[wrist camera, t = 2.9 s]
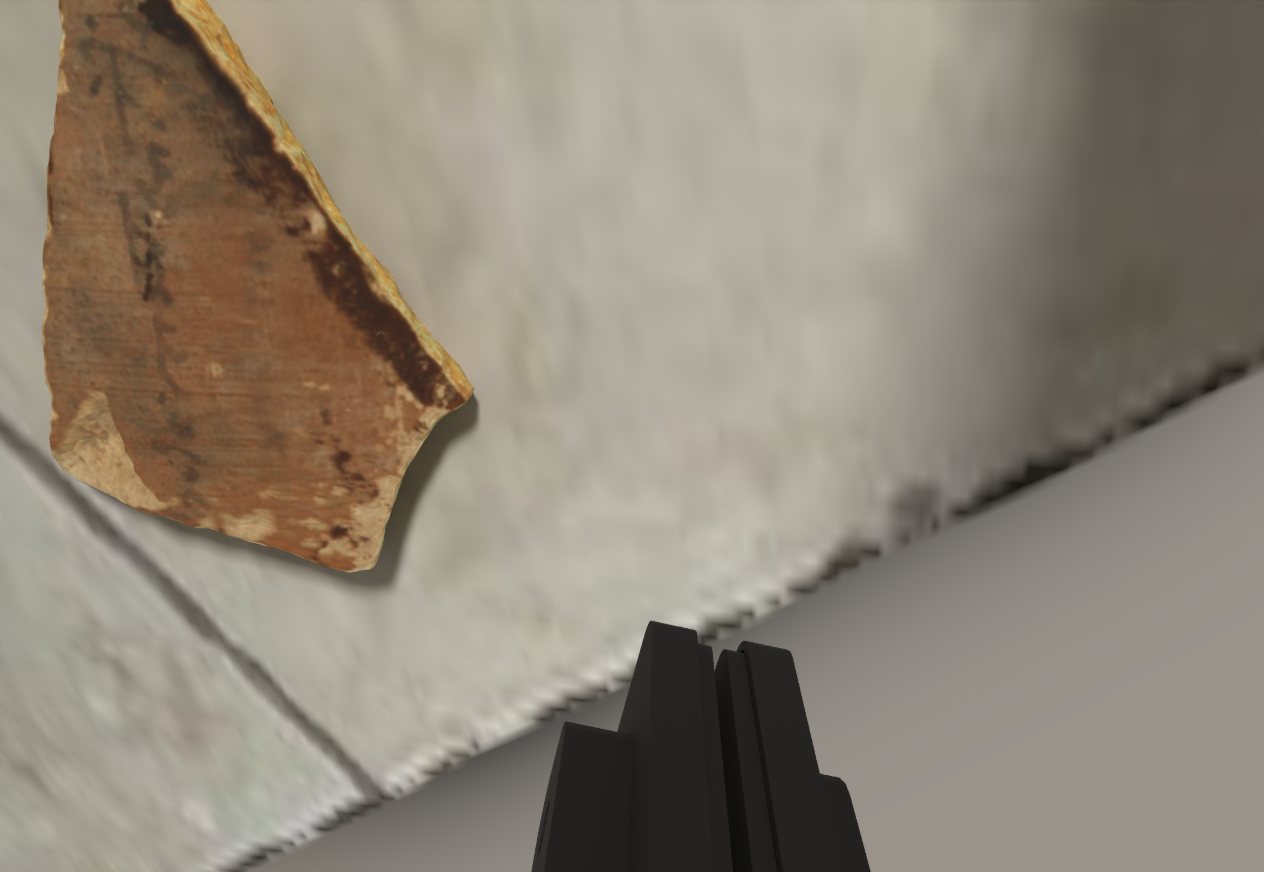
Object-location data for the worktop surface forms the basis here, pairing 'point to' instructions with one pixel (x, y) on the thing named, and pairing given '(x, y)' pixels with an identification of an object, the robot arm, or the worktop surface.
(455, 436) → the worktop surface
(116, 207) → the shard
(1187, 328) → the worktop surface
